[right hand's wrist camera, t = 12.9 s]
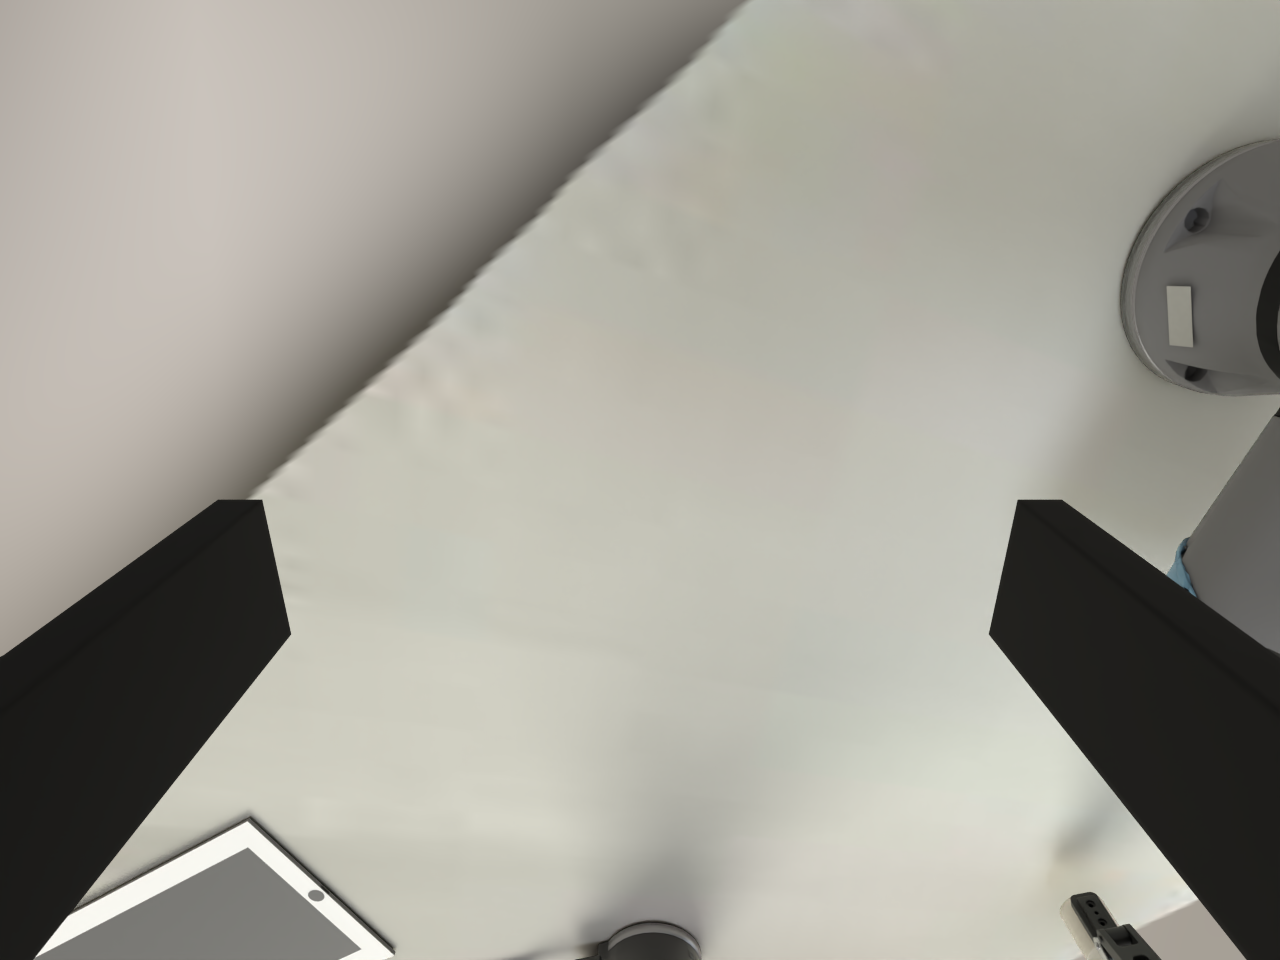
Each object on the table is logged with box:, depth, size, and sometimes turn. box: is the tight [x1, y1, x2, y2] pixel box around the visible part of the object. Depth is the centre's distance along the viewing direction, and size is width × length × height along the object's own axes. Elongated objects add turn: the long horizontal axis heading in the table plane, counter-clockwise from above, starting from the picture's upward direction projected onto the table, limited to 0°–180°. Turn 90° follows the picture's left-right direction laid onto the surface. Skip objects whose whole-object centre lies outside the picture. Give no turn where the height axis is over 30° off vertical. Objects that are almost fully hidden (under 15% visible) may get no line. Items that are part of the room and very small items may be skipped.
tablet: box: [34, 818, 395, 960], centre depth 68 cm, size 32×20×1 cm, turn 122°
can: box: [1060, 897, 1119, 960], centre depth 60 cm, size 4×4×4 cm
